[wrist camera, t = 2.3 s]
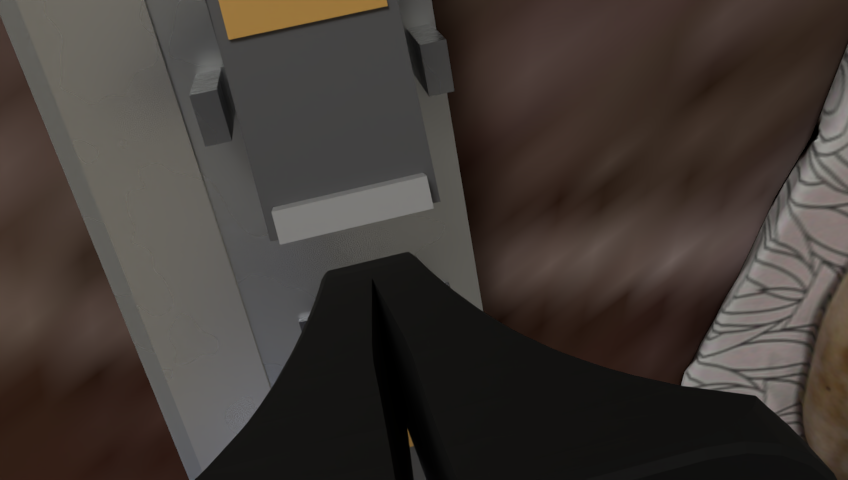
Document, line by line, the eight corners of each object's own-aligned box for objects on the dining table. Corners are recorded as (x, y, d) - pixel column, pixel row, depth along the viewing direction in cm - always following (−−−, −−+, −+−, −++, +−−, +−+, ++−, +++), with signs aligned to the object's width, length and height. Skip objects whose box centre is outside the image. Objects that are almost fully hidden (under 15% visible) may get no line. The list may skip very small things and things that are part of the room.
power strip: (485, 426, 26) (532, 550, 21) (235, 491, 25) (228, 633, 20) (276, -740, 14) (282, -1028, 9) (-204, -675, 13) (-447, -951, 9)
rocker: (430, 188, 17) (446, 205, 15) (272, 225, 16) (265, 247, 14) (376, -63, 16) (385, -86, 13) (206, -29, 15) (188, -45, 13)
